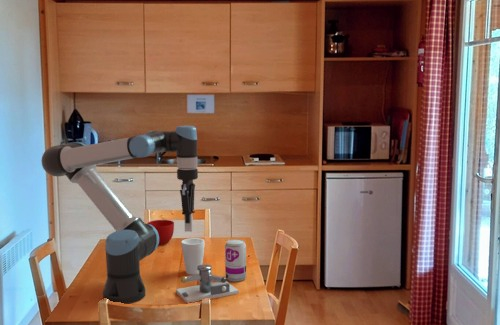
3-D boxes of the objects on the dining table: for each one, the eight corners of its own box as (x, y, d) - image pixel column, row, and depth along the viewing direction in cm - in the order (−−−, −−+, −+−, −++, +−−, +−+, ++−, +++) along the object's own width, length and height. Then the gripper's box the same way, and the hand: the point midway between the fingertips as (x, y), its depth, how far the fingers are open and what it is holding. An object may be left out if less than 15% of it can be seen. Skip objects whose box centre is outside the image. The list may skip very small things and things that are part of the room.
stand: (188, 304, 199) (187, 292, 198) (175, 292, 210) (175, 281, 210) (239, 294, 208) (239, 283, 207) (225, 283, 219) (225, 272, 218)
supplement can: (238, 283, 219) (238, 245, 217) (221, 279, 223) (220, 242, 221) (250, 277, 226) (249, 240, 223) (232, 273, 230) (232, 237, 228)
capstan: (227, 295, 203) (227, 271, 202) (189, 302, 196) (189, 278, 195) (209, 281, 217) (209, 259, 216) (173, 287, 211) (173, 265, 209)
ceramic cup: (140, 248, 265) (139, 228, 263) (152, 239, 281) (152, 219, 280) (167, 250, 263) (166, 229, 261) (177, 240, 279) (177, 220, 278)
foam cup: (201, 276, 227) (200, 245, 225) (179, 275, 229) (178, 244, 227) (207, 268, 236) (207, 238, 234) (186, 267, 238) (185, 237, 236)
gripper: (181, 165, 214) (183, 226, 217) (172, 170, 201) (174, 235, 205) (201, 165, 213) (202, 226, 216) (192, 171, 200) (194, 236, 204)
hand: (188, 230), depth 211 cm, fingers closed
